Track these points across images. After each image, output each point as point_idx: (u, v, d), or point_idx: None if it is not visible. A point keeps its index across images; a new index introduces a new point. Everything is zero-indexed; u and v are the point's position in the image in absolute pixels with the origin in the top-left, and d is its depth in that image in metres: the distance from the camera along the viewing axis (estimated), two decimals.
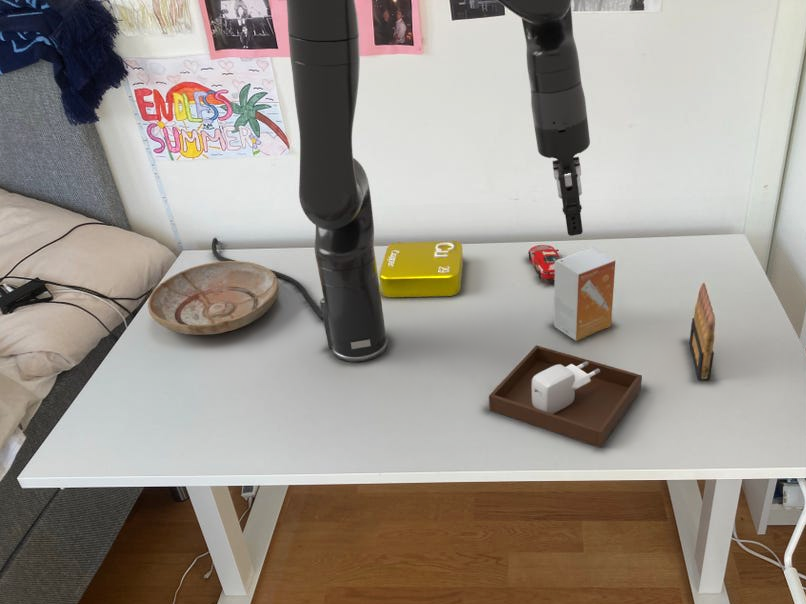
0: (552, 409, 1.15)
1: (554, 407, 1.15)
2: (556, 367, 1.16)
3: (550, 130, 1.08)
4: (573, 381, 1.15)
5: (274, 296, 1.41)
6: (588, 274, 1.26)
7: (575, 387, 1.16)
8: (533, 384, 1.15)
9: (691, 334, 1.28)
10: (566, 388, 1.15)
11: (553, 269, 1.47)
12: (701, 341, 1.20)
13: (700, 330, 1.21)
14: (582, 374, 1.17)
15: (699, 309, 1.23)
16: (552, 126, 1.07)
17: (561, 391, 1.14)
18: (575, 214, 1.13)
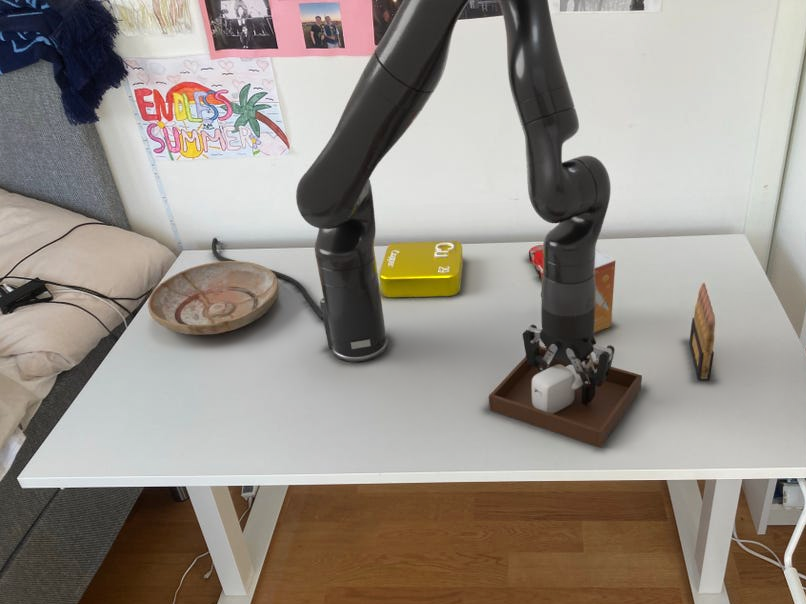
0: (552, 409, 1.15)
1: (554, 407, 1.15)
2: (556, 367, 1.16)
3: None
4: (573, 381, 1.15)
5: (274, 296, 1.41)
6: None
7: (575, 387, 1.16)
8: (533, 384, 1.15)
9: (691, 334, 1.28)
10: (566, 388, 1.15)
11: None
12: (701, 341, 1.20)
13: (700, 330, 1.21)
14: None
15: (699, 309, 1.23)
16: None
17: (561, 391, 1.14)
18: None
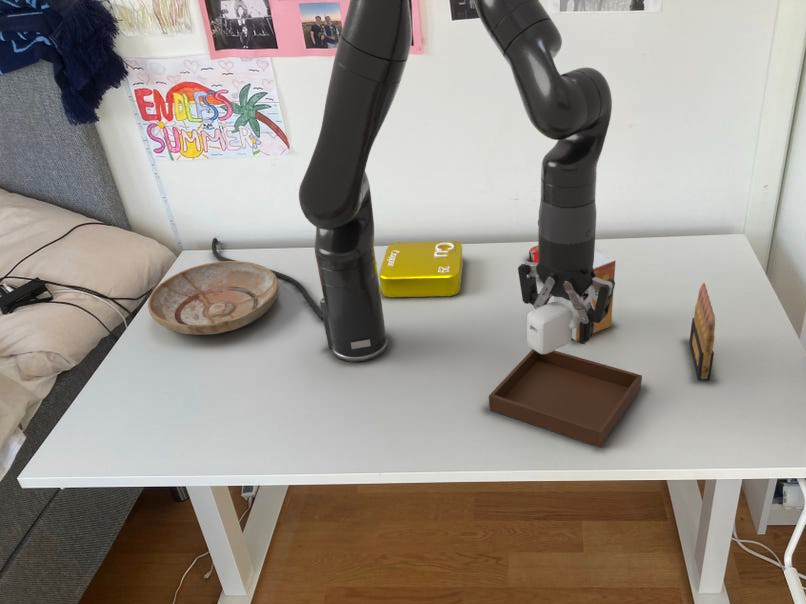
0: (548, 347, 1.09)
1: (550, 345, 1.09)
2: (553, 304, 1.10)
3: None
4: (571, 318, 1.09)
5: (274, 296, 1.41)
6: None
7: (573, 325, 1.10)
8: (528, 320, 1.09)
9: (691, 334, 1.28)
10: (563, 325, 1.09)
11: None
12: (701, 341, 1.20)
13: (700, 330, 1.21)
14: None
15: (699, 309, 1.23)
16: None
17: (558, 328, 1.08)
18: None
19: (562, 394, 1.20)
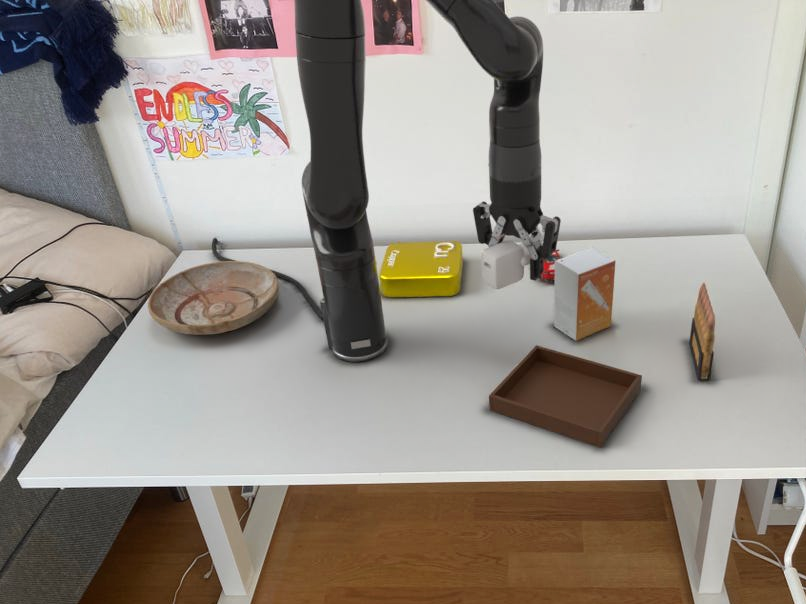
0: (501, 282, 1.18)
1: (503, 280, 1.18)
2: (506, 242, 1.19)
3: None
4: (522, 255, 1.18)
5: (274, 296, 1.41)
6: (588, 274, 1.26)
7: (524, 262, 1.18)
8: (483, 257, 1.17)
9: (691, 334, 1.28)
10: (514, 262, 1.18)
11: (553, 269, 1.47)
12: (701, 341, 1.20)
13: (700, 330, 1.21)
14: None
15: (699, 309, 1.23)
16: None
17: (510, 264, 1.17)
18: None
19: (562, 394, 1.20)
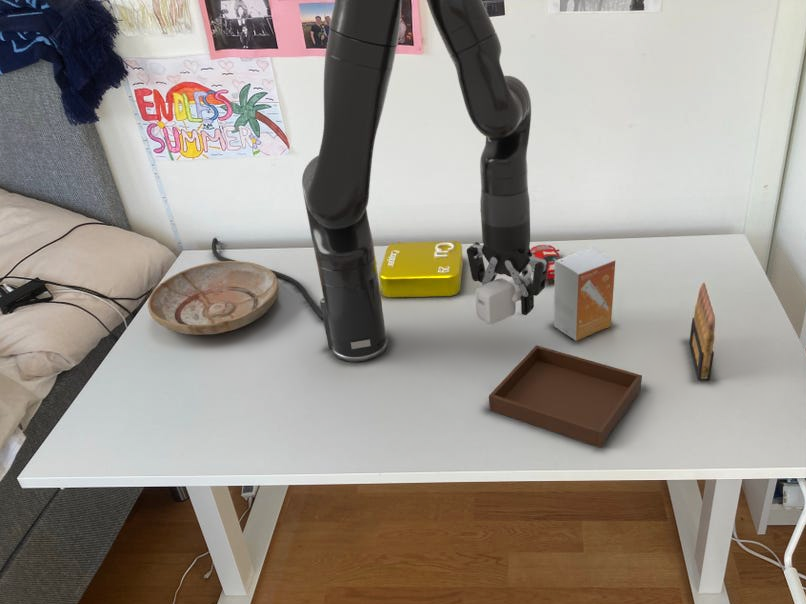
0: (494, 318, 1.26)
1: (496, 316, 1.26)
2: (498, 280, 1.27)
3: None
4: (513, 292, 1.26)
5: (274, 296, 1.41)
6: (588, 274, 1.26)
7: (515, 298, 1.26)
8: (477, 295, 1.25)
9: (691, 334, 1.28)
10: (506, 298, 1.26)
11: (553, 269, 1.47)
12: (701, 341, 1.20)
13: (700, 330, 1.21)
14: None
15: (699, 309, 1.23)
16: None
17: (502, 301, 1.25)
18: None
19: (562, 394, 1.20)
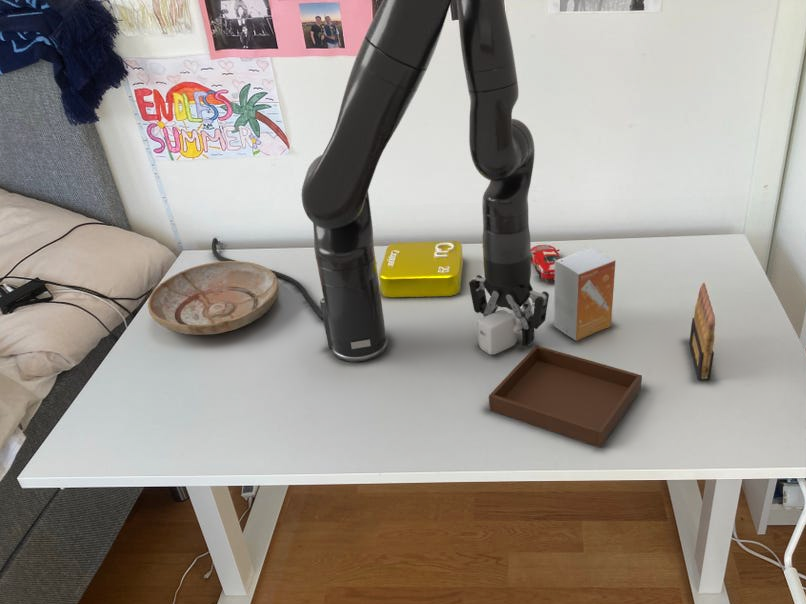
0: (496, 349, 1.29)
1: (498, 347, 1.29)
2: (499, 312, 1.30)
3: None
4: (514, 324, 1.29)
5: (274, 296, 1.41)
6: (588, 274, 1.26)
7: (516, 329, 1.30)
8: (479, 326, 1.29)
9: (691, 334, 1.28)
10: (508, 330, 1.29)
11: (553, 269, 1.47)
12: (701, 341, 1.20)
13: (700, 330, 1.21)
14: None
15: (699, 309, 1.23)
16: None
17: (504, 333, 1.29)
18: None
19: (562, 394, 1.20)
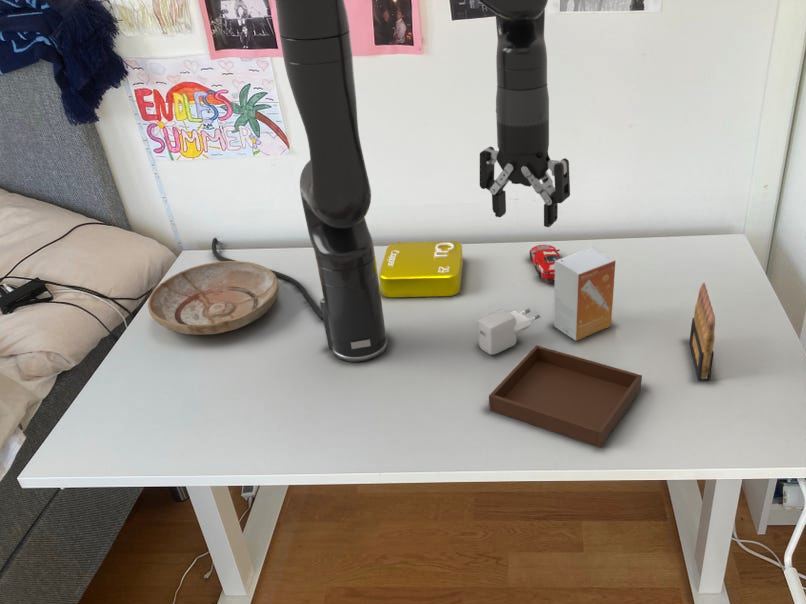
0: (496, 349, 1.29)
1: (498, 347, 1.29)
2: (499, 312, 1.30)
3: None
4: (514, 324, 1.29)
5: (274, 296, 1.41)
6: (588, 274, 1.26)
7: (516, 329, 1.30)
8: (479, 326, 1.29)
9: (691, 334, 1.28)
10: (508, 330, 1.29)
11: (553, 269, 1.47)
12: (701, 341, 1.20)
13: (700, 330, 1.21)
14: (523, 318, 1.31)
15: (699, 309, 1.23)
16: None
17: (504, 333, 1.29)
18: None
19: (562, 394, 1.20)
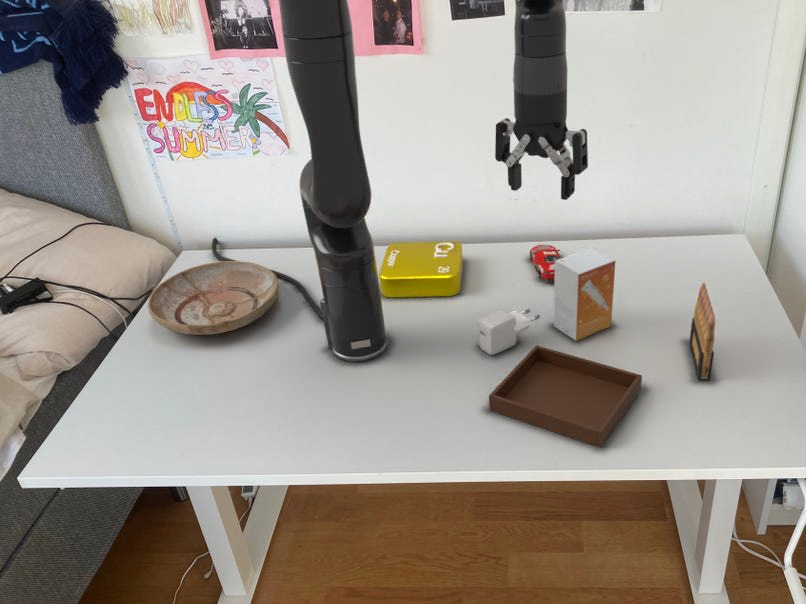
0: (496, 349, 1.29)
1: (498, 347, 1.29)
2: (499, 312, 1.30)
3: None
4: (514, 324, 1.29)
5: (274, 296, 1.41)
6: (588, 274, 1.26)
7: (516, 329, 1.30)
8: (479, 326, 1.29)
9: (691, 334, 1.28)
10: (508, 330, 1.29)
11: (553, 269, 1.47)
12: (701, 341, 1.20)
13: (700, 330, 1.21)
14: (523, 318, 1.31)
15: (699, 309, 1.23)
16: None
17: (504, 333, 1.29)
18: None
19: (562, 394, 1.20)
